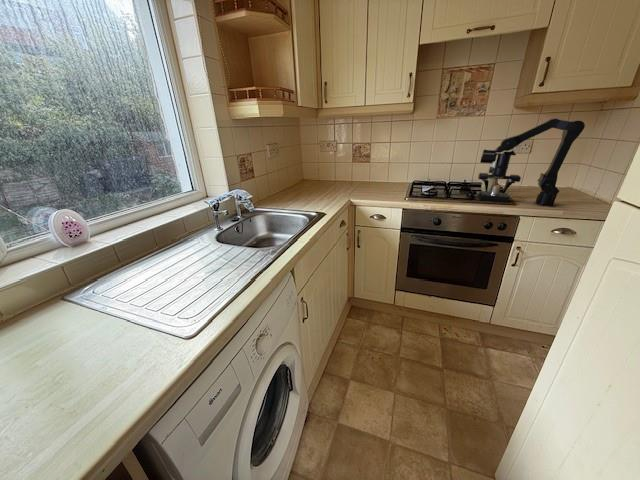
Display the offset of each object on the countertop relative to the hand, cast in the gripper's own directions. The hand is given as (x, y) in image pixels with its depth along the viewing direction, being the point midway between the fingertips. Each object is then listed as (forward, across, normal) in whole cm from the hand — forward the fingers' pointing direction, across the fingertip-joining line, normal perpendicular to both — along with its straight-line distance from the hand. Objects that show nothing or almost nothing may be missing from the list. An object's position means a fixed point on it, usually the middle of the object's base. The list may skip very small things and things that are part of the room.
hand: (494, 192), depth 144 cm
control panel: (+4, 0, 0) cm, 4 cm away
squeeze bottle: (+4, +1, -16) cm, 16 cm away
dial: (0, 0, 0) cm, 0 cm away
